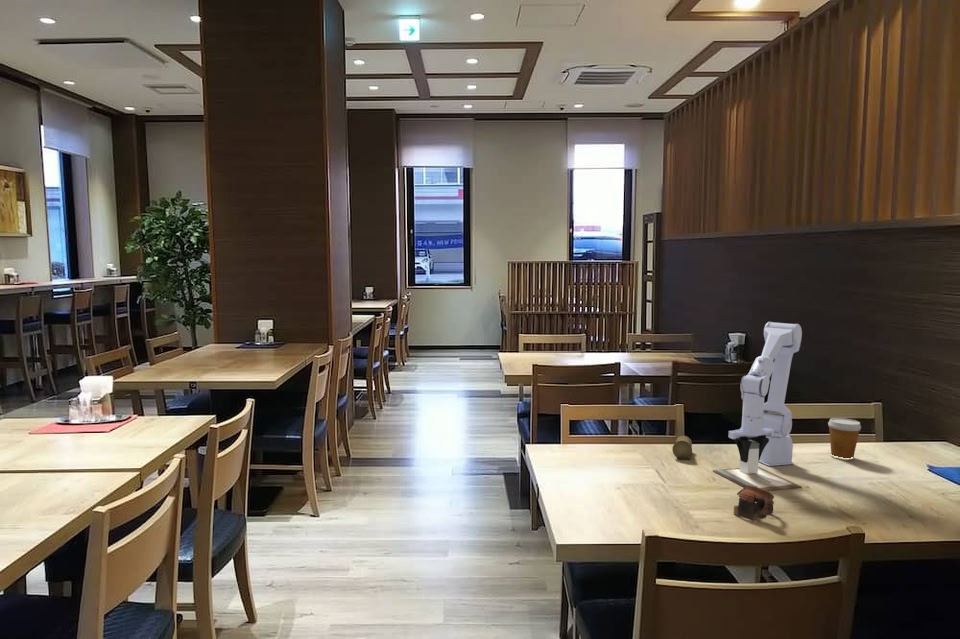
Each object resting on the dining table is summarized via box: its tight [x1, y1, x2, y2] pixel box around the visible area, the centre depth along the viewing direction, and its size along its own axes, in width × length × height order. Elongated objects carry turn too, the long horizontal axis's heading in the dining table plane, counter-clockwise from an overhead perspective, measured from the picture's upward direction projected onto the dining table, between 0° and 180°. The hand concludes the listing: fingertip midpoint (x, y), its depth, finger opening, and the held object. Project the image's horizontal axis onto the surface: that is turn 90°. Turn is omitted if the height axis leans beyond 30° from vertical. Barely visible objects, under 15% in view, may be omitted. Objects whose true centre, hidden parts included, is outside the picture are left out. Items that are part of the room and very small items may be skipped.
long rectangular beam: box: [738, 439, 760, 474], centre depth 195 cm, size 4×4×9 cm
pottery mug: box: [733, 485, 775, 522], centre depth 163 cm, size 12×10×8 cm
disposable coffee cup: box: [827, 417, 862, 458], centre depth 214 cm, size 10×10×12 cm
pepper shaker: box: [672, 435, 693, 461], centre depth 213 cm, size 6×6×11 cm
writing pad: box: [712, 466, 802, 492], centre depth 191 cm, size 16×18×1 cm
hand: (749, 461), depth 195 cm, fingers closed on long rectangular beam, 4 cm apart
